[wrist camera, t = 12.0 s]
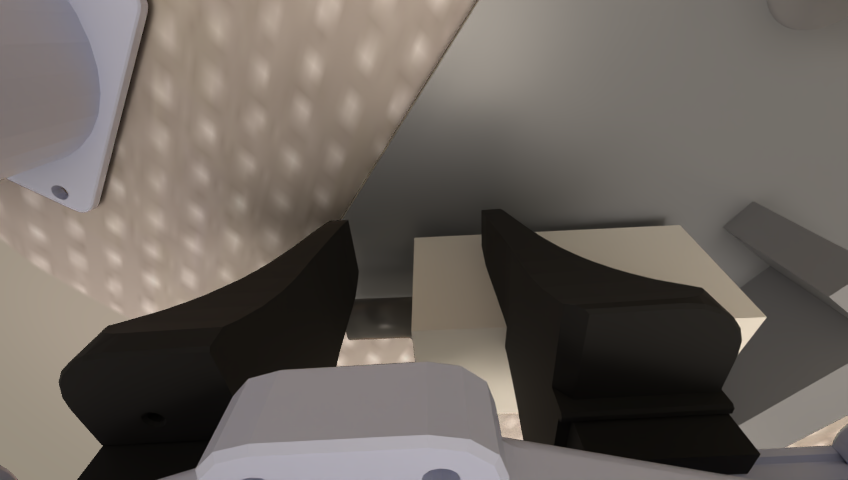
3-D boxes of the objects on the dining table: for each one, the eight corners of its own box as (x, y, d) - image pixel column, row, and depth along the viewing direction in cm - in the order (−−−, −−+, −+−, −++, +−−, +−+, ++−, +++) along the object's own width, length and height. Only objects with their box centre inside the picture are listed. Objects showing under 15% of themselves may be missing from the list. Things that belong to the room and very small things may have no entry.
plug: (365, 324, 16) (351, 418, 12) (345, 241, 13) (320, 334, 10) (640, 313, 15) (696, 407, 12) (679, 224, 12) (766, 317, 9)
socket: (305, 276, 15) (261, 367, 11) (715, -383, 7) (1092, -920, 3) (597, 421, 20) (643, 523, 16) (1038, 115, 12) (1360, 159, 8)
